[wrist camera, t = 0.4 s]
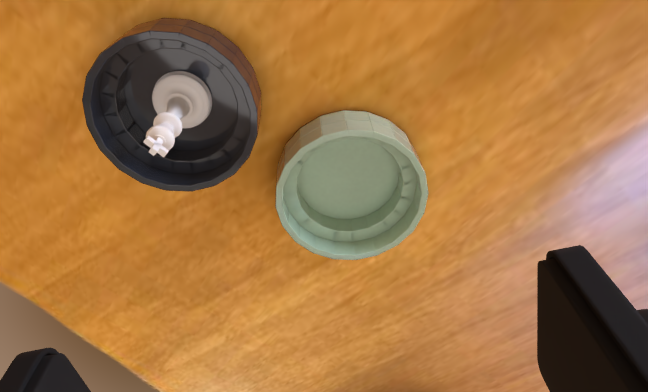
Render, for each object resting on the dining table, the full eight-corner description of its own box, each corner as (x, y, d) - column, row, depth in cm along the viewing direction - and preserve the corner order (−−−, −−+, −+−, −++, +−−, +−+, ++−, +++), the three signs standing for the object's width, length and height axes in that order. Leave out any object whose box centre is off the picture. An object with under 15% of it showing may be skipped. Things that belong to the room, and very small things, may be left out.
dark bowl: (73, 41, 40) (49, 57, 36) (231, -2, 38) (224, 10, 35) (143, 180, 46) (129, 206, 43) (279, 147, 45) (277, 171, 41)
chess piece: (188, 136, 44) (161, 195, 35) (141, 100, 42) (100, 152, 33) (224, 98, 42) (204, 150, 34) (176, 58, 40) (142, 103, 32)
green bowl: (259, 129, 44) (255, 151, 40) (405, 93, 43) (416, 113, 39) (298, 243, 51) (298, 272, 47) (425, 215, 50) (436, 242, 46)
